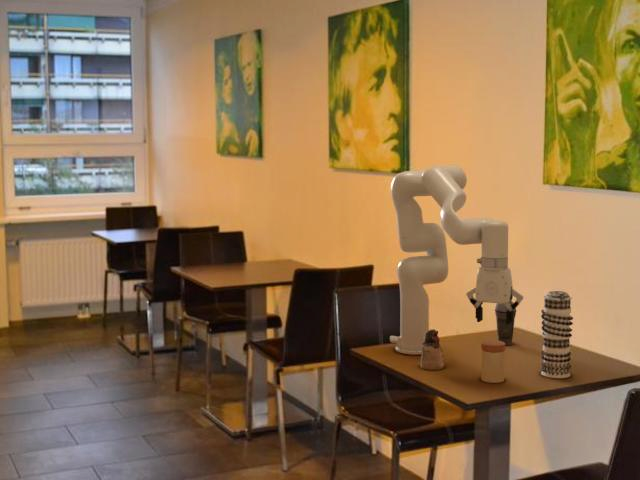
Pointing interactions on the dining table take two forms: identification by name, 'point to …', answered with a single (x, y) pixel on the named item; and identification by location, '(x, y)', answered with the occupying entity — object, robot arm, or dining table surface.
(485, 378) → the honey jar
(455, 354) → the dining table surface
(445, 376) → the dining table surface
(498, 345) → the jar lid
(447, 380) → the dining table surface
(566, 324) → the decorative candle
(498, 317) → the beverage cup
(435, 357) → the figurine
